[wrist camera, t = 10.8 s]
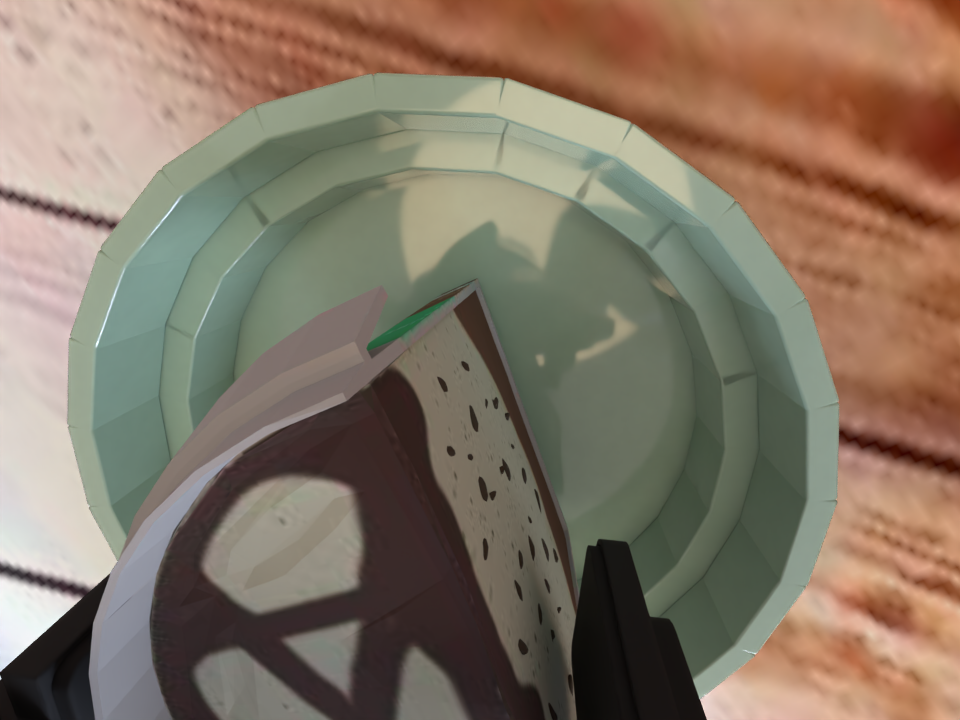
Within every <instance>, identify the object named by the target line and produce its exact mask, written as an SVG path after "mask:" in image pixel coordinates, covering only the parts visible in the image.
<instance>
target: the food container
mask: <svg viewBox="0 0 960 720" xmlns="http://www.w3.org/2000/svg"><path fill="white" fill-rule="evenodd" d="M387 298H388V295H387V293H386V291H385V289H384V287H383V286H382V285H380V286H378V287H376V288H374V289H372V290H370V291H367V292H365V293H363V294H361V295H359V296H357V297H355V298H353V299H350V300H348V301H346V302H344V303H342V304H340V305H338V306H336V307H334V308H331V309H329V310H327V311H325V312H323V313H321V314H319V315H317V316H316V317H314V318H313V319H312V320H310V321H309V322H307V323H306V324H304V325H303V326H301V327H300V328H299V329H297V330H296V331H294V332H293V333H291V334H290V335H289V336H287V337H286V338H284V339H283V340H281V341H280V342H278V343H277V344H276V345H274V346H273V347H271V348H270V349H268V350H267V351H266V352H264V353H263V354H262V355H261V356H260V357H259V358H258V359H257V360H256V361H255V362H254V363H253V364H252V365H251V366H250V367H249V368H248V369H247V370H246V371H245V372H244V373H243V374H242V375H241V376H240V377H239V378H238V379H237V380H236V381H235V382H234V383H233V384H232V385H231V386H230V387H229V388H228V389H227V390H226V391H225V393H224V394H223V395H222V396H221V397H220V398H219V399H218V400H217V402H216V403H215V404H214V405H213V407H212V408H211V409H210V411H209V412H208V413H207V415H206V416H205V417H204V418H203V420H202V421H201V422H200V424H199V425H198V426H197V428H196V429H195V430H194V431H193V433H192V434H191V435H190V437H189V438H188V439H187V440H186V442H185V443H184V444H183V446H182V447H181V448H180V450H179V451H178V452H177V453H176V455H175V456H174V457H173V459H172V460H171V461H170V463H169V464H168V465H167V467H166V468H165V470H164V471H163V473H162V474H161V476H160V478H159V479H158V481H157V482H156V484H155V485H154V487H153V488H152V490H151V491H150V493H149V495H148V496H147V498H146V499H145V501H144V502H143V504H142V505H141V507H140V508H139V510H138V511H137V513H136V515H135V516H134V519H133V522H132V525H131V527H130V530H129V533H128V536H127V538H126V541H125V544H124V547H123V549H122V552H121V555H120V558H119V560H118V562H117V563H116V565H115V566H114V568H113V569H112V571H111V574H110V576H109V579H108V582H107V585H106V588H105V591H104V594H103V596H102V599H101V602H100V605H99V608H98V611H97V614H96V617H95V619H94V622H93V631H92V642H91V653H90V664H89V680H90V687H91V694H92V701H93V708H94V715H95V720H577V716H576V706H575V695H574V685H573V675H572V664H571V646H572V638H573V632H574V626H575V619H576V613H577V607H578V600H579V589H578V583H577V577H576V571H575V565H574V559H573V553H572V547H571V542H570V536H569V530H568V527H567V524H566V522H565V519H564V516H563V513H562V511H561V508H560V505H559V502H558V500H557V497H556V494H555V491H554V488H553V486H552V483H551V480H550V477H549V475H548V472H547V469H546V466H545V464H544V461H543V458H542V455H541V452H540V450H539V447H538V444H537V441H536V439H535V436H534V433H533V430H532V428H531V425H530V422H529V419H528V416H527V414H526V411H525V408H524V405H523V403H522V400H521V397H520V394H519V392H518V389H517V386H516V383H515V380H514V378H513V375H512V372H511V369H510V367H509V364H508V361H507V358H506V356H505V353H504V350H503V347H502V344H501V342H500V339H499V336H498V333H497V331H496V328H495V325H494V322H493V320H492V317H491V314H490V311H489V308H488V306H487V303H486V300H485V297H484V295H483V292H482V289H481V286H480V284H479V281H478V278H477V279H474V280H472V281H470V282H468V283H465V284H463V285H461V286H459V287H457V288H454V289H452V290H450V291H448V292H446V293H443V294H441V295H440V296H438V297H437V298H435V299H434V300H432V301H431V302H429V303H428V304H426V305H425V306H423V307H422V308H420V309H419V310H417V311H416V312H414V313H413V314H411V315H410V316H408V317H407V318H405V319H404V320H402V321H401V322H399V323H398V324H396V325H395V326H393V327H392V328H390V329H389V330H387V331H386V332H384V333H383V334H381V335H380V336H378V337H377V338H375V339H374V340H372V341H371V342H369V341H370V338H371V336H372V334H373V331H374V329H375V326H376V324H377V322H378V319H379V317H380V314H381V312H382V310H383V307H384V305H385V302H386V300H387Z"/></svg>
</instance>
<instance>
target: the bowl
mask: <svg viewBox="0 0 960 720" xmlns="http://www.w3.org/2000/svg"><path fill="white" fill-rule="evenodd" d="M477 278H478V281H479V284H480V286H481V289H482V292H483V295H484V297H485V300H486V303H487V306H488V308H489V311H490V314H491V317H492V320H493V322H494V325H495V328H496V331H497V333H498V336H499V339H500V342H501V344H502V347H503V350H504V353H505V356H506V358H507V361H508V364H509V367H510V369H511V372H512V375H513V378H514V380H515V383H516V386H517V389H518V392H519V394H520V397H521V400H522V403H523V405H524V408H525V411H526V414H527V416H528V419H529V422H530V425H531V428H532V430H533V433H534V436H535V439H536V441H537V444H538V447H539V450H540V452H541V455H542V458H543V461H544V464H545V466H546V469H547V472H548V475H549V477H550V480H551V483H552V486H553V488H554V491H555V494H556V497H557V500H558V502H559V505H560V508H561V511H562V513H563V516H564V519H565V522H566V524H567V527H568V530H569V536H570V542H571V547H572V553H573V559H574V565H575V571H576V577H577V583H578V589H579V594H580V588H581V581H582V575H583V568H584V562H585V556H586V550H587V546H588V545H592V546H596V544H597V541H598V539H607V540H616V541H626V542H627V543H628V545H629V548H630V551H631V554H632V558H633V561H634V565H635V568H636V571H637V575H638V578H639V581H640V585H641V588H642V592H643V595H644V598H645V602H646V605H647V609H648V612H649V615H650V616H651V617H659V618H667V619H670V621H671V622H672V623H673V625H674V627H675V630H676V632H677V635H678V638H679V641H680V644H681V647H682V650H683V653H684V655H685V658H686V661H687V664H688V667H689V670H690V673H691V676H692V679H693V681H694V684H695V687H696V690H697V693H698V696H699V699H701V698H702V697H704V696H705V695H706V694H708V693H709V692H710V691H711V690H713V689H714V688H715V687H716V686H718V685H719V684H720V683H722V682H723V681H724V680H725V679H727V678H728V677H729V676H730V675H732V674H733V673H734V672H735V671H737V670H738V669H739V668H741V667H742V666H743V665H744V664H746V663H747V662H748V661H749V660H751V659H752V658H753V657H754V656H755V654H757V653H758V652H759V650H760V649H761V648H762V646H763V645H764V644H765V642H766V641H767V639H768V638H769V637H770V635H771V634H772V633H773V631H774V630H775V629H776V627H777V626H778V625H779V623H780V622H781V621H782V619H783V618H784V617H785V615H786V614H787V613H788V611H789V610H790V608H791V607H792V606H793V604H794V603H795V602H796V600H797V599H798V598H799V596H800V595H801V594H802V592H803V591H804V590H805V588H806V586H807V585H808V583H809V580H810V577H811V575H812V572H813V569H814V566H815V563H816V561H817V558H818V555H819V552H820V549H821V547H822V544H823V541H824V538H825V536H826V533H827V530H828V527H829V524H830V522H831V519H832V516H833V513H834V510H835V508H836V505H837V500H836V499H837V486H838V444H839V403H838V401H839V398H838V395H837V392H836V389H835V386H834V382H833V379H832V376H831V373H830V370H829V366H828V363H827V360H826V357H825V354H824V350H823V347H822V344H821V341H820V338H819V334H818V331H817V328H816V325H815V322H814V318H813V315H812V312H811V309H810V306H809V302H808V300H807V299H806V298H805V294H804V293H803V291H802V290H801V289H800V287H799V286H798V284H797V283H796V282H795V280H794V279H793V277H792V276H791V275H790V273H789V272H788V270H787V269H786V268H785V266H784V265H783V264H782V262H781V261H780V259H779V258H778V257H777V255H776V254H775V252H774V251H773V250H772V248H771V247H770V246H769V244H768V243H767V241H766V240H765V239H764V237H763V236H762V234H761V233H760V232H759V230H758V229H757V227H756V226H755V225H754V223H753V222H752V221H751V219H750V218H749V216H748V215H747V214H746V212H745V211H744V209H743V208H742V207H741V205H740V204H739V203H738V202H736V201H735V199H734V197H733V196H731V195H730V194H729V193H727V192H726V191H725V190H723V189H722V188H721V187H719V186H718V185H716V184H715V183H714V182H712V181H711V180H710V179H708V178H707V177H706V176H704V175H703V174H702V173H700V172H699V171H698V170H696V169H695V168H694V167H692V166H691V165H690V164H688V163H687V162H685V161H684V160H683V159H681V158H680V157H679V156H677V155H676V154H675V153H673V152H672V151H671V150H669V149H668V148H667V147H665V146H664V145H663V144H661V143H660V142H658V141H657V140H656V139H654V138H653V137H652V136H650V135H649V134H648V133H646V132H645V131H644V130H642V129H641V128H640V127H638V126H637V125H636V124H631V122H630V121H629V120H626V119H623V118H620V117H617V116H615V115H612V114H609V113H606V112H603V111H600V110H597V109H595V108H592V107H589V106H586V105H583V104H580V103H578V102H575V101H572V100H569V99H566V98H563V97H560V96H558V95H555V94H552V93H549V92H546V91H543V90H541V89H538V88H535V87H532V86H529V85H526V84H523V83H521V82H518V81H515V80H512V79H509V78H505V79H503V78H501V77H481V76H455V75H429V74H403V73H375V74H374V75H373V74H366V75H362V76H358V77H355V78H351V79H347V80H344V81H340V82H337V83H333V84H329V85H326V86H322V87H319V88H315V89H311V90H308V91H304V92H300V93H297V94H293V95H290V96H286V97H282V98H279V99H275V100H271V101H268V102H264V103H261V104H258V105H256V106H255V107H251V108H250V109H248V110H247V111H245V112H244V113H242V114H241V115H239V116H238V117H236V118H235V119H233V120H232V121H230V122H229V123H227V124H226V125H224V126H223V127H221V128H220V129H218V130H217V131H215V132H214V133H212V134H211V135H209V136H208V137H206V138H205V139H203V140H202V141H200V142H199V143H197V144H196V145H194V146H193V147H191V148H190V149H188V150H187V151H185V152H184V153H183V154H181V155H180V156H178V157H177V158H175V159H174V160H172V161H171V162H169V163H168V164H166V165H165V166H163V168H162V170H159V171H158V172H157V173H156V175H155V176H154V177H153V179H152V180H151V181H150V183H149V184H148V185H147V187H146V188H145V189H144V191H143V192H142V193H141V195H140V196H139V197H138V198H137V200H136V201H135V202H134V204H133V205H132V206H131V208H130V209H129V210H128V212H127V213H126V214H125V216H124V217H123V218H122V220H121V221H120V222H119V224H118V225H117V226H116V227H115V229H114V230H113V231H112V233H111V234H110V235H109V237H108V238H107V239H106V241H105V242H104V243H103V245H102V246H101V250H100V251H99V252H98V254H97V257H96V260H95V263H94V266H93V268H92V271H91V274H90V277H89V280H88V283H87V286H86V289H85V292H84V295H83V298H82V301H81V304H80V307H79V310H78V313H77V316H76V319H75V322H74V325H73V328H72V331H71V334H70V336H71V338H69V355H68V408H67V424H68V425H69V426H68V429H69V433H70V437H71V441H72V445H73V448H74V452H75V456H76V460H77V464H78V468H79V472H80V475H81V479H82V483H83V487H84V491H85V495H86V499H87V502H88V505H89V509H90V511H91V513H92V515H93V516H94V518H95V520H96V522H97V524H98V526H99V528H100V529H101V531H102V533H103V535H104V537H105V539H106V541H107V542H108V544H109V546H110V548H111V550H112V552H113V554H114V555H115V557H116V559H117V561H118V560H119V558H120V555H121V552H122V549H123V547H124V544H125V541H126V538H127V536H128V533H129V530H130V527H131V525H132V522H133V519H134V516H135V515H136V513H137V511H138V510H139V508H140V507H141V505H142V504H143V502H144V501H145V499H146V498H147V496H148V495H149V493H150V491H151V490H152V488H153V487H154V485H155V484H156V482H157V481H158V479H159V478H160V476H161V474H162V473H163V471H164V470H165V468H166V467H167V465H168V464H169V463H170V461H171V460H172V459H173V457H174V456H175V455H176V453H177V452H178V451H179V450H180V448H181V447H182V446H183V444H184V443H185V442H186V440H187V439H188V438H189V437H190V435H191V434H192V433H193V431H194V430H195V429H196V428H197V426H198V425H199V424H200V422H201V421H202V420H203V418H204V417H205V416H206V415H207V413H208V412H209V411H210V409H211V408H212V407H213V405H214V404H215V403H216V402H217V400H218V399H219V398H220V397H221V396H222V395H223V394H224V393H225V391H226V390H227V389H228V388H229V387H230V386H231V385H232V384H233V383H234V382H235V381H236V380H237V379H238V378H239V377H240V376H241V375H242V374H243V373H244V372H245V371H246V370H247V369H248V368H249V367H250V366H251V365H252V364H253V363H254V362H255V361H256V360H257V359H258V358H259V357H260V356H261V355H262V354H263V353H264V352H266V351H267V350H268V349H270V348H271V347H273V346H274V345H276V344H277V343H278V342H280V341H281V340H283V339H284V338H286V337H287V336H289V335H290V334H291V333H293V332H294V331H296V330H297V329H299V328H300V327H301V326H303V325H304V324H306V323H307V322H309V321H310V320H312V319H313V318H314V317H316V316H317V315H319V314H321V313H323V312H325V311H327V310H329V309H331V308H334V307H336V306H338V305H340V304H342V303H344V302H346V301H348V300H350V299H353V298H355V297H357V296H359V295H361V294H363V293H365V292H367V291H370V290H372V289H374V288H376V287H378V286H380V285H382V286H383V287H384V289H385V291H386V293H387V295H388V298H387V300H386V302H385V305H384V307H383V310H382V312H381V314H380V317H379V319H378V322H377V324H376V326H375V329H374V331H373V334H372V336H371V338H370V341H369V342H371V341H372V340H374V339H375V338H377V337H378V336H380V335H381V334H383V333H384V332H386V331H387V330H389V329H390V328H392V327H393V326H395V325H396V324H398V323H399V322H401V321H402V320H404V319H405V318H407V317H408V316H410V315H411V314H413V313H414V312H416V311H417V310H419V309H420V308H422V307H423V306H425V305H426V304H428V303H429V302H431V301H432V300H434V299H435V298H437V297H438V296H440V295H441V294H443V293H446V292H448V291H450V290H452V289H454V288H457V287H459V286H461V285H463V284H465V283H468V282H470V281H472V280H474V279H477Z"/></svg>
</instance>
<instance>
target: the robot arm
mask: <svg viewBox="0 0 960 720" xmlns="http://www.w3.org/2000/svg"><path fill="white" fill-rule="evenodd" d="M110 574H111V573H110ZM110 574H109V575H108V576H107V577H106V578H104V579H103V580H102V581H101V582H100V583H99V584H98V585H97V586H96V587H94V588H93V589H92V590H91V591H90V592H89V593H88V594H87V595H86V596H84V597H83V598H82V599H81V600H80V601H79V602H78V603H77V604H76V605H74V606H73V607H72V608H71V609H70V610H69V611H68V612H67V613H66V614H64V615H63V616H62V617H61V618H60V619H59V620H58V621H57V622H55V623H54V624H53V625H52V626H51V627H50V628H49V629H48V630H47V631H45V632H44V633H43V634H42V635H41V636H40V637H39V638H38V639H37V640H35V641H34V642H33V643H32V644H31V645H30V646H29V647H28V648H27V649H25V650H24V651H23V652H22V653H21V654H20V655H19V656H18V657H17V658H15V659H14V660H13V661H12V662H11V663H10V664H9V665H8V666H7V667H5V668H4V669H3V670H2V671H1V672H0V676H1V678H2V679H1V680H0V720H95V715H94V708H93V701H92V694H91V687H90V680H89V664H90V653H91V642H92V631H93V622H94V619H95V617H96V614H97V611H98V608H99V605H100V602H101V599H102V596H103V594H104V591H105V588H106V585H107V582H108V579H109V576H110ZM571 664H572V675H573V685H574V695H575V706H576V716H577V720H707V719H706V716H705V713H704V710H703V708H702V705H701V702H700V699H699V696H698V693H697V690H696V687H695V684H694V681H693V679H692V676H691V673H690V670H689V667H688V664H687V661H686V658H685V655H684V653H683V650H682V647H681V644H680V641H679V638H678V635H677V632H676V630H675V627H674V625H673V623H672V622H671V621H670V619H667V618H659V617H651V616H650V615H649V612H648V609H647V605H646V602H645V598H644V595H643V592H642V588H641V585H640V581H639V578H638V575H637V571H636V568H635V565H634V561H633V558H632V554H631V551H630V548H629V545H628V543H627V542H626V541H616V540H607V539H598V541H597V544H596V546H592V545H588V546H587V550H586V556H585V562H584V568H583V575H582V581H581V588H580V594H579V600H578V607H577V613H576V619H575V626H574V632H573V638H572V646H571Z"/></svg>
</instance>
